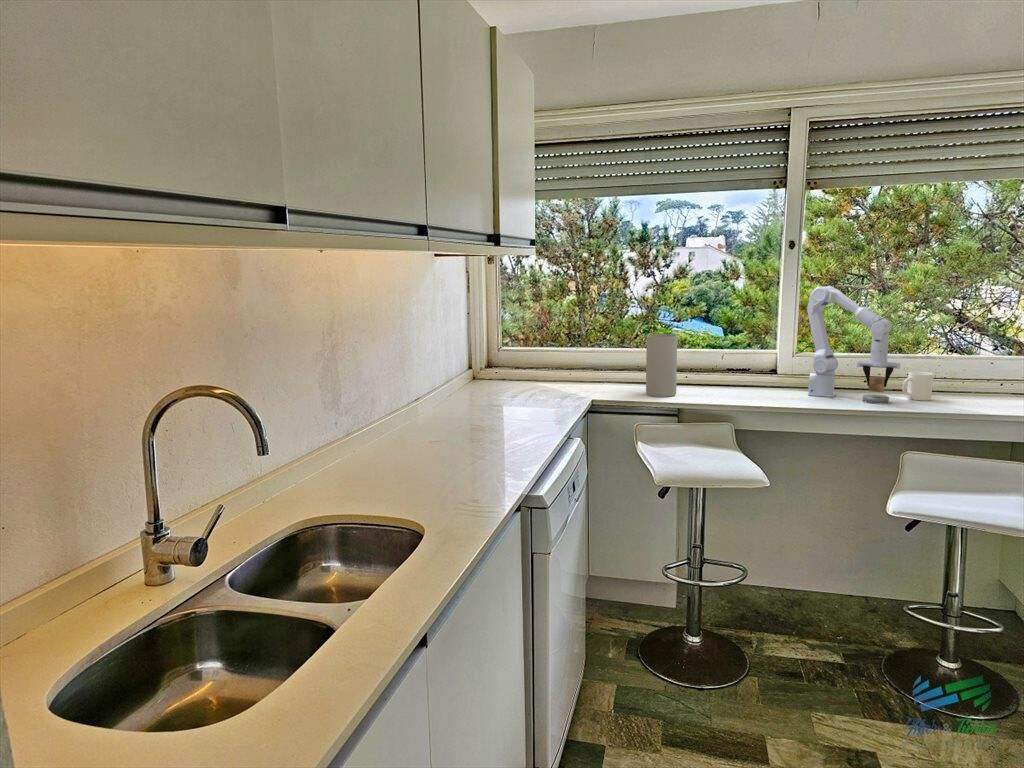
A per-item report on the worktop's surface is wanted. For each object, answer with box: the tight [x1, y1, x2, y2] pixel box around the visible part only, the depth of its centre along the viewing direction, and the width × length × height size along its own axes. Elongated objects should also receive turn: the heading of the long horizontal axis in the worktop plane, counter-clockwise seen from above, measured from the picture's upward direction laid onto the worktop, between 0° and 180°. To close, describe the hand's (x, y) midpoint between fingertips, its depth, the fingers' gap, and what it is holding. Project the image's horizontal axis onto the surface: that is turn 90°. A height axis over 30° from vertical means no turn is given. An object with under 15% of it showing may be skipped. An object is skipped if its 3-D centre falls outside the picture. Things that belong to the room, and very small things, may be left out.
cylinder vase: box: [645, 333, 678, 398], centre depth 283 cm, size 12×12×25 cm
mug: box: [901, 371, 934, 401], centre depth 264 cm, size 12×8×10 cm
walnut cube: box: [868, 376, 885, 393], centre depth 261 cm, size 5×5×5 cm
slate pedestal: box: [862, 393, 890, 404], centre depth 262 cm, size 9×9×2 cm
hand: (876, 386), depth 261 cm, fingers closed on walnut cube, 5 cm apart
